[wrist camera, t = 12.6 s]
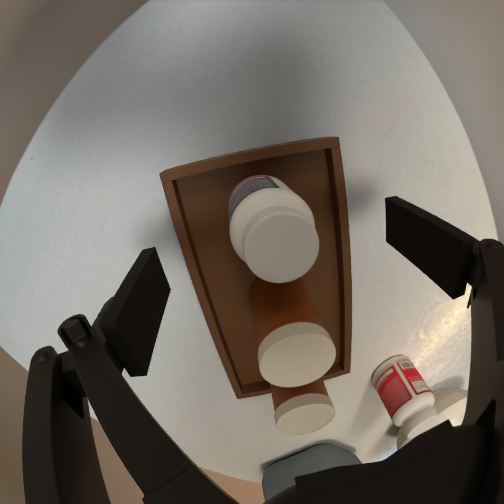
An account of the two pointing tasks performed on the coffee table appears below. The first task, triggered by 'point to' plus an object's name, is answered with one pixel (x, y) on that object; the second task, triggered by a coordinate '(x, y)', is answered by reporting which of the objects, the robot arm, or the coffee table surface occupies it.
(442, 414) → the bowl
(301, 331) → the amber bottle middle
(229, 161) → the tray
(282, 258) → the pill bottle
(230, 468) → the coffee table surface
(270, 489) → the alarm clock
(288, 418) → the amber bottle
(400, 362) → the pill bottle
